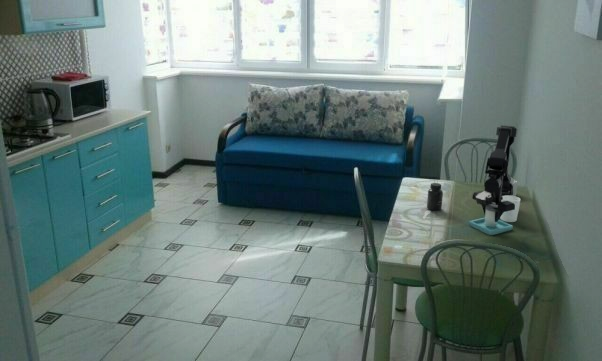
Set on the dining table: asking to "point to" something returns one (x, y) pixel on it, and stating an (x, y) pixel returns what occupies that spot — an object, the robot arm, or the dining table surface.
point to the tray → (490, 230)
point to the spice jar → (490, 215)
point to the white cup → (511, 215)
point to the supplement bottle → (435, 197)
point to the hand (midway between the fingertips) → (491, 219)
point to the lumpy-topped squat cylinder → (514, 186)
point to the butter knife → (426, 214)
